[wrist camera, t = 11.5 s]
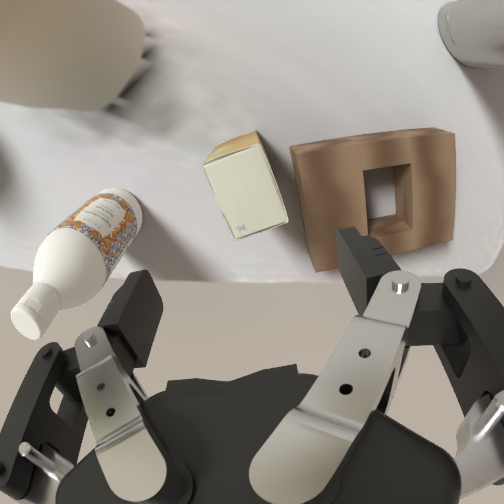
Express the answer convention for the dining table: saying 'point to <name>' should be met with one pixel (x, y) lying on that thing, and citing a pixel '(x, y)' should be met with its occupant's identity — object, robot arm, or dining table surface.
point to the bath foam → (78, 259)
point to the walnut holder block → (353, 192)
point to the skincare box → (245, 186)
